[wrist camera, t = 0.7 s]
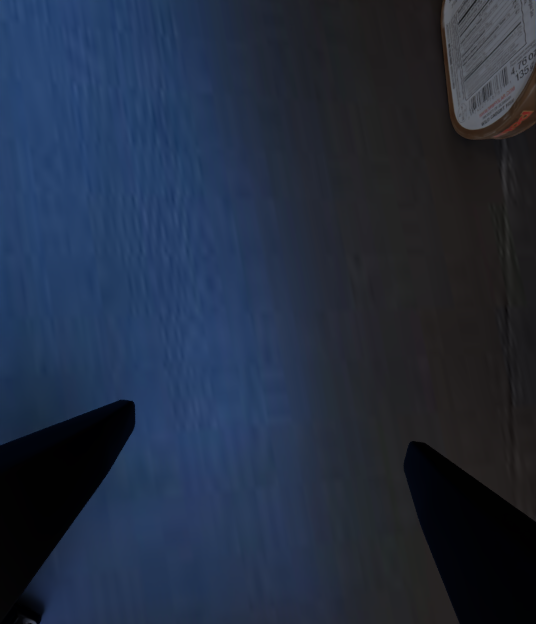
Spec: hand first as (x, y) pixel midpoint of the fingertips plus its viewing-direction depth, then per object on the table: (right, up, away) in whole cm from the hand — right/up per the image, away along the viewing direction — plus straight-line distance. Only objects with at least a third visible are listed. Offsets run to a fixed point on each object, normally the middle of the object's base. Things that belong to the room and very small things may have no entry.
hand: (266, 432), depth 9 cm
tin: (+16, +25, +15) cm, 33 cm away
